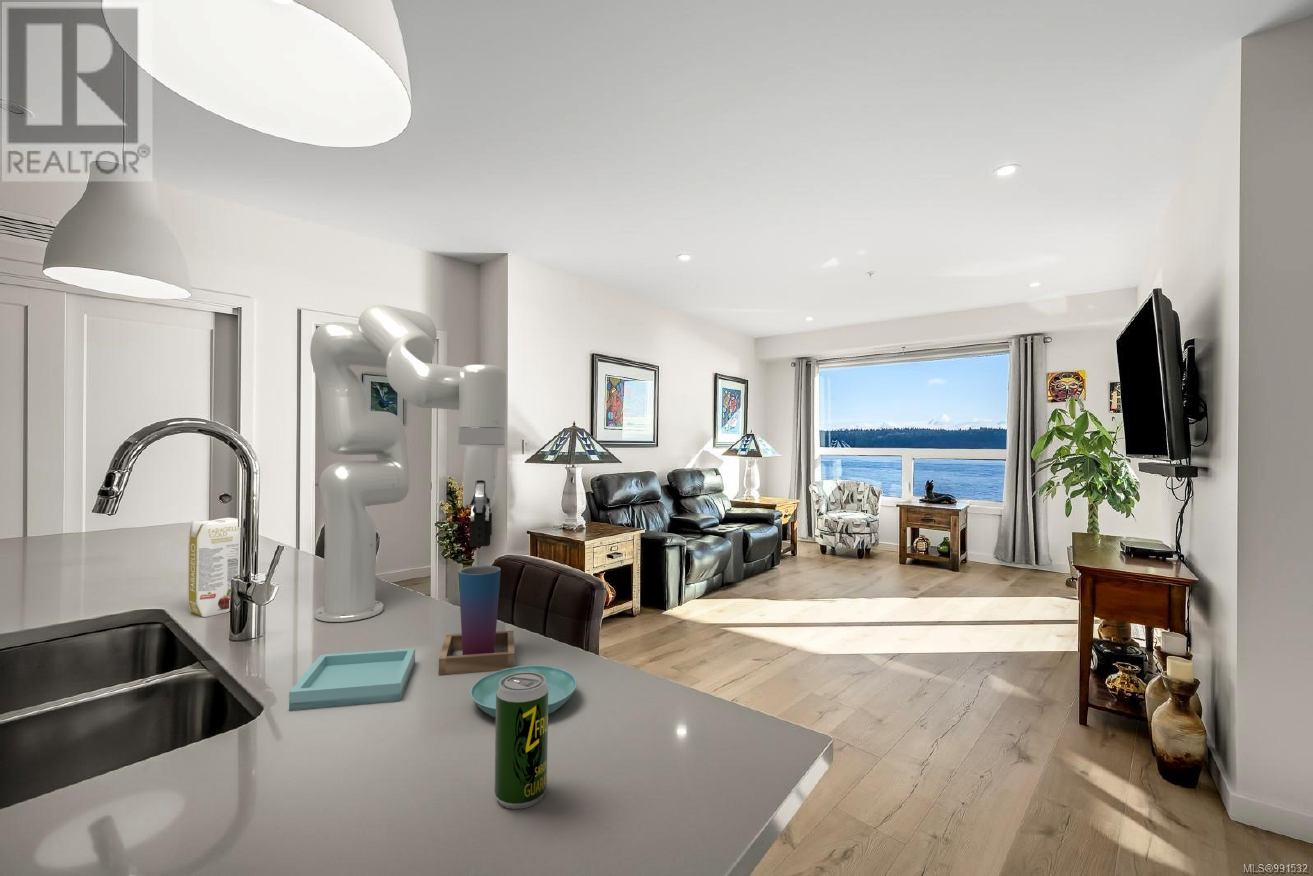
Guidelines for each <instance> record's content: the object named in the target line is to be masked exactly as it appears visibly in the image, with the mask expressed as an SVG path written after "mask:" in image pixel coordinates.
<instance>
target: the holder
mask: <svg viewBox="0 0 1313 876" xmlns="http://www.w3.org/2000/svg"><path fill="white" fill-rule="evenodd" d="M514 634H515V633H514V630H501V631H496V637H495V649H496V648H507V651H504V652H503V651H502V652H501V651H500V652H494V653H485V654H472V655H463V654H461V655H451V654H452V652H453V651H462V633H453V634H445V638H444V641H443V644H442V647H441V650H440V654H439V657H438V676H443V675H458V674H469V673H480V672H482V673H483V672H496V671H500V670H503V669H507V668H513V667H515V639H514V637H515V636H514Z"/></svg>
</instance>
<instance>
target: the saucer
mask: <svg viewBox="0 0 1313 876" xmlns="http://www.w3.org/2000/svg"><path fill="white" fill-rule="evenodd" d="M519 672H534V673H538V674H542V675H543V676H545V678H546V684H547V687H548V715H550V714H552V713H553V712H555V711H556V710H557V711H558V709H559V708H561V707H562V706H563V705H564V704H566V702H568V700H569V699H570V698H571V696H572V695H573V693H574V692H575V690H576V689H577V688H576V687H577V684H578V682H577V679H576V677H575V675H573V674H572V673H570V672H569V671H568V670H565V669H562V668H559V667H556V666H548V665H539V664H538V665H520V666H514V667H513V668H507V669H503V670H497V671H493V672H492V673H489V674H487V675H485V676H482V677H481V678H480V679H478V680H476V681H475V682H474V683H473V685H472V686H471V688H470V690H469V695H470V698H471V699H472V700H473V703H474V704H475V705H476V706H477V707H478V708H479V709H480V710H481V711H483V712H484V713H486V714H487V715H489V716H490V717H492V718H494V719H496V692H497V690H498V688H499V681H500V680H501V679H502V678H503V677H505V676H507V675H510V674H514V673H519Z"/></svg>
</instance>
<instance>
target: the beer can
mask: <svg viewBox="0 0 1313 876" xmlns="http://www.w3.org/2000/svg"><path fill="white" fill-rule="evenodd" d="M548 727H549V714H548V687H547V684H546V678H545V676H543V675H542V674H538V673H534V672H519V673H514V674H510V675H507V676H505V677H503V678H502V679H501V680H500V681H499V688H498V690H497V692H496V718H495V730H494V731H495V735H494V736H495V738H494V740H495V742H494V747H495V748H494V749H495V750H494V795H495V797H496V800H497V801H498V803H499V804H500V806H502V807H504V806H505V807H504V808H506V807H508V808H507V809H510V808H511V810H523V809H526V808H530V807H533V806H535V805H536V804H538V803H539V802H540V801H541V800H542V799H543V797H544V795H545V793H546V791H547V786H548V784H547V783H548V747H549V746H548V740H549V739H548V737H549V736H548V735H549V732H548V730H549V728H548ZM518 808H519V809H518ZM522 808H523V809H522Z"/></svg>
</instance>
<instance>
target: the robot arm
mask: <svg viewBox="0 0 1313 876" xmlns="http://www.w3.org/2000/svg"><path fill="white" fill-rule="evenodd" d="M437 336H438V335H437V327H436V326H435V323H434V321H433V320H432V318H430V317H429V316H428V315H427V314H425V313H423V312H419V311H416V310H410V309H406V308H405V309H404V308H401V307H396V306H390V305H386V304H385V305H384V304H383V305H382V304H379V305H378V304H377V305H373V306H370V307H368V308H366V309H364V310H363V312H361V314H360V315H359V317H358V323H357V324H356V323H351V322H343V321H342V322H341V321H340V322H339V321H338V322H336V321H335V322H334V321H333V322H330V321H329V322H327V323H323V324H320V325H319V326H317V328H316V329H315V330H314V332H313V334H312V337H311V341H310V347H309V348H310V351H309V353H310V354H309V355H310V360H311V365H312V369H313V372H314V374H315V377H316V379H317V382H318V386H319V390H320V396H321V397H320V398H321V412H322V423H323V434H324V440H325V445H326V447H327V449H328V451H330V452H331V453H333V454H336V455H340V456H342V455H343V456H371V455H372V456H374V455H375V456H376V460H348V461H347V460H346V461H339V462H335V463H332V464H330V465H328V466H327V467H325V469H323V470H322V473H321V475H320V476H319V477H320V478H319V489H320V490H319V491H320V494H321V495H320V496H321V501H322V508H323V518H324V555H323V556H324V559H323V561H324V566H323V567H324V568H323V605H322V606H320V607H318V608H317V609H315V611H314V619H316V620H318V621H322V622H327V623H328V622H329V623H340V622H341V623H343V622H344V623H345V622H353V621H359V620H363V619H368V618H371V617H374V616H376V615H379V614H380V613H382V612H383V610H384V603H382V602H381V601H380V600H379V601H378V600H376V583H377V582H376V578H377V577H376V576H377V575H376V570H377V569H376V567H377V528H376V527H377V526H376V524H375V521H374V519H373V518H372V516H371V515H370V514H369V512H368V510H367V509H366V507H369V506H378V505H379V506H381V505H387V504H396V503H400V502H402V501H404V500H405V498H406V497H407V496H408V494H409V491H410V487H411V473H410V463H409V462H410V461H409V453H408V452H409V451H408V443H407V441H408V440H407V434H406V428H405V424H404V423H403V421H402V420H401V419H400V417H399V416H398V415H396V414H395V413H393V412H389V411H381V410H378V411H377V410H370V408H369V406H368V399H367V397H368V396H367V390H366V387H365V385H364V383H363V381H362V380H361V378H360V377H359V376H358V375H357V374H356V372H355V371H354V370H353V369H352V368H351V366H358V367H368V368H376V369H385V373H386V377H387V381H388V383H389V385H390V387H391V388H392V390H393V391H395V392H396V393H397V394H398V395H399V396H400V397H401V398H402V399H404V400H405V401H406V402H407V403H409V404H410V405H412V406H415V407H418V408H421V409H422V408H423V409H438V410H451V411H454V410H455V411H458V448H464V455H463V456H464V458H463V474H462V475H463V476H462V477H463V478H462V483H463V485H462V486H463V487H462V507H463V508H464V509H467V508H468V507H469V506H471V510H470V521H469V527H468V529H469V531H468V533H469V535H468V541H469V542H468V545H469V547H473V548H474V547H476V548H477V547H489V546H490V545H491V536H492V533H493V532H492V531H493V528H492V527H493V522H492V521H493V519H492V518H493V513H492V512H491V508H492V507H493V506H494V505H495V501H496V500H495V499H496V493H497V485H498V483H497V481H498V454H499V453H498V450H499V449H500V448H501V449H502V448H503V449H504V448H506V409H507V408H506V404H507V401H506V399H507V397H506V393H507V386H506V385H507V377H506V376H507V375H506V372H505V370H504V369H503V368H502V367H501V366H498V365H493V364H483V363H482V364H480V363H478V364H476V363H474V364H467V365H464V366H462V367H458V366H452V365H446V364H444V365H443V364H439V363H438V364H437V363H431V361H432V359H433V357H434V356H435V344H436V342H437Z"/></svg>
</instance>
